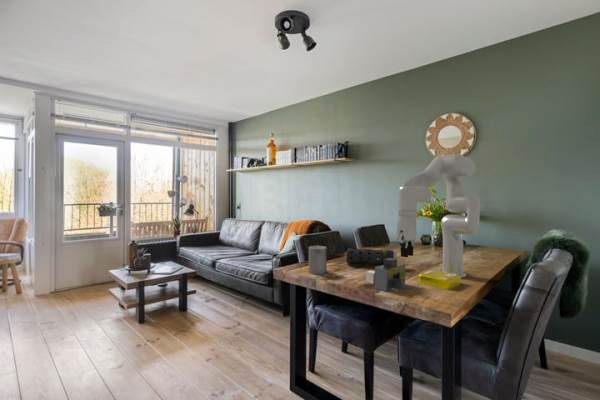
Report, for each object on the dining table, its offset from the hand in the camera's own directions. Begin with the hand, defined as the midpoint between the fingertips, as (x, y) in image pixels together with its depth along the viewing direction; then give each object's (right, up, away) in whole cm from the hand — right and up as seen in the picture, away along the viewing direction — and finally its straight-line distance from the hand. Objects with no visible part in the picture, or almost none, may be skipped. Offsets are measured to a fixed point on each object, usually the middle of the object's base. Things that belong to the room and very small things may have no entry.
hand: (406, 255), depth 135 cm
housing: (-6, -15, +6) cm, 17 cm away
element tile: (+20, -16, +12) cm, 28 cm away
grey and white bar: (-7, -15, +8) cm, 19 cm away
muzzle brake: (-5, -15, +45) cm, 47 cm away
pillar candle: (-38, -15, +31) cm, 51 cm away
